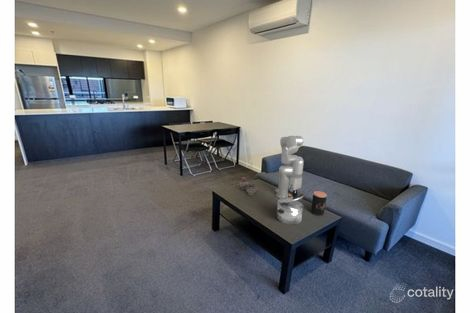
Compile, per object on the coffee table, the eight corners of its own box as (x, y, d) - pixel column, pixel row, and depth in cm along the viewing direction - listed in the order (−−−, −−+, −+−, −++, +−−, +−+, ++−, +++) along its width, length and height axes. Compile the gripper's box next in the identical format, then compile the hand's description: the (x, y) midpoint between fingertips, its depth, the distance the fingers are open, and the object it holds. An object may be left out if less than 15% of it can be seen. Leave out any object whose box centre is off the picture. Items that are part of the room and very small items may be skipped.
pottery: (245, 186, 243) (245, 175, 239) (259, 195, 222) (259, 183, 219) (236, 187, 237) (236, 177, 234) (249, 197, 216) (250, 186, 213)
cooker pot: (268, 216, 183) (269, 203, 180) (288, 208, 198) (290, 195, 195) (288, 229, 167) (290, 214, 164) (308, 218, 183) (310, 205, 179)
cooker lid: (272, 203, 181) (271, 199, 181) (288, 196, 193) (287, 193, 193) (292, 202, 164) (291, 198, 164) (308, 195, 176) (307, 191, 177)
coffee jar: (314, 216, 186) (317, 197, 181) (308, 210, 196) (311, 191, 191) (326, 215, 188) (329, 196, 183) (319, 209, 198) (322, 190, 193)
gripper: (298, 171, 177) (296, 193, 182) (286, 175, 168) (284, 197, 173) (306, 174, 171) (304, 196, 176) (294, 178, 162) (292, 201, 167)
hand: (294, 196), depth 175 cm, fingers closed
